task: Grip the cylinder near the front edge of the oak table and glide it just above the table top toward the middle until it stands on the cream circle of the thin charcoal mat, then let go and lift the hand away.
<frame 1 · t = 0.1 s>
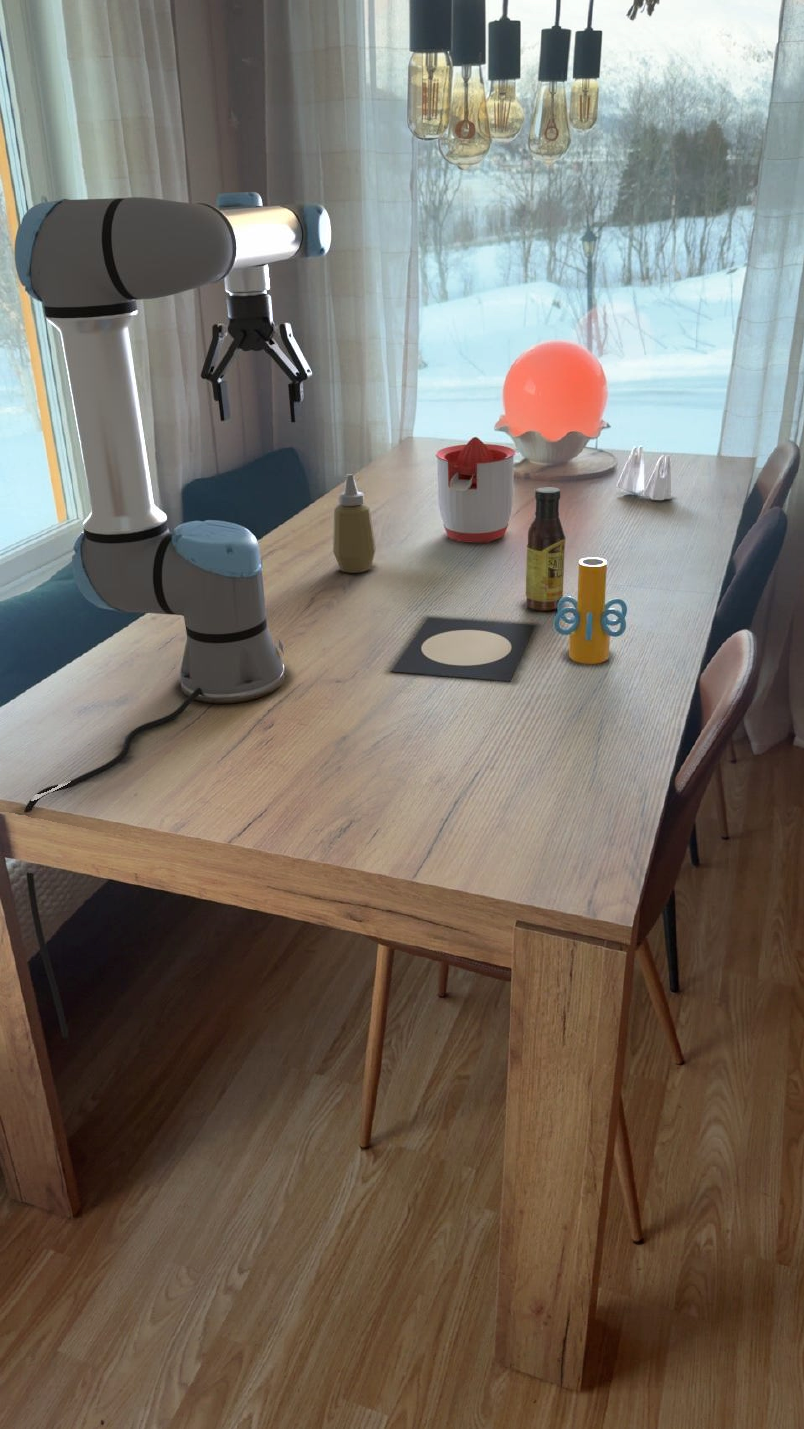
hand: (260, 420, 189), 28 cm above the table, tool pointing down, fingers open, 13 cm apart
sauce bottle: (544, 606, 179), on the table
citrus juicer: (474, 537, 215), on the table
cylinder: (589, 658, 159), on the table
mat: (466, 647, 164), on the table
shaker set: (643, 497, 237), on the table
squeeze bottle: (355, 569, 200), on the table
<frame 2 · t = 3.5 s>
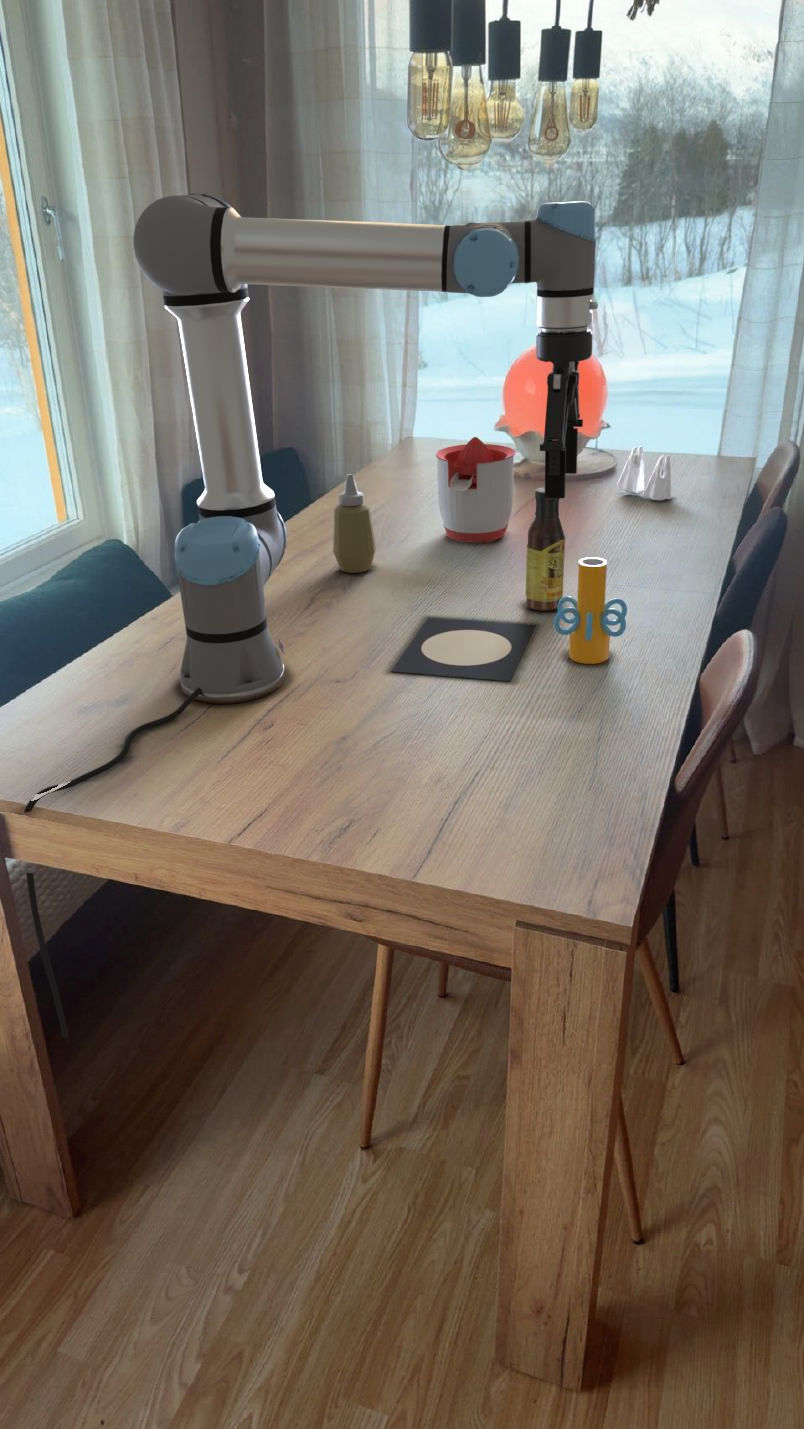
hand: (561, 485, 152), 25 cm above the table, tool pointing down, fingers open, 13 cm apart
nothing on the table moved.
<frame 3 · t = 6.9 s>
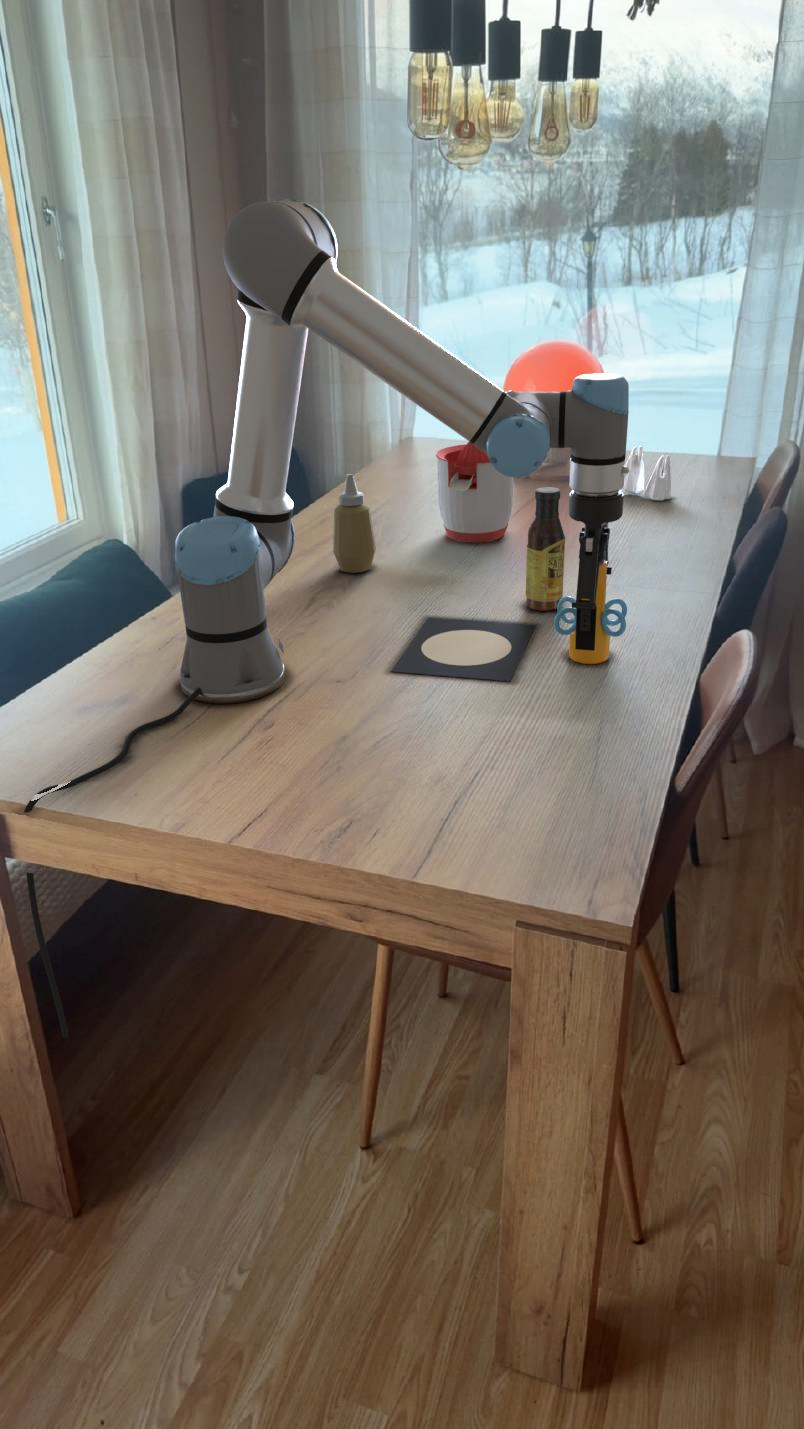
hand: (590, 632, 158), 4 cm above the table, tool pointing down, fingers closed on cylinder, 12 cm apart
cylinder: (589, 658, 159), on the table, touching gripper
everything else where it was.
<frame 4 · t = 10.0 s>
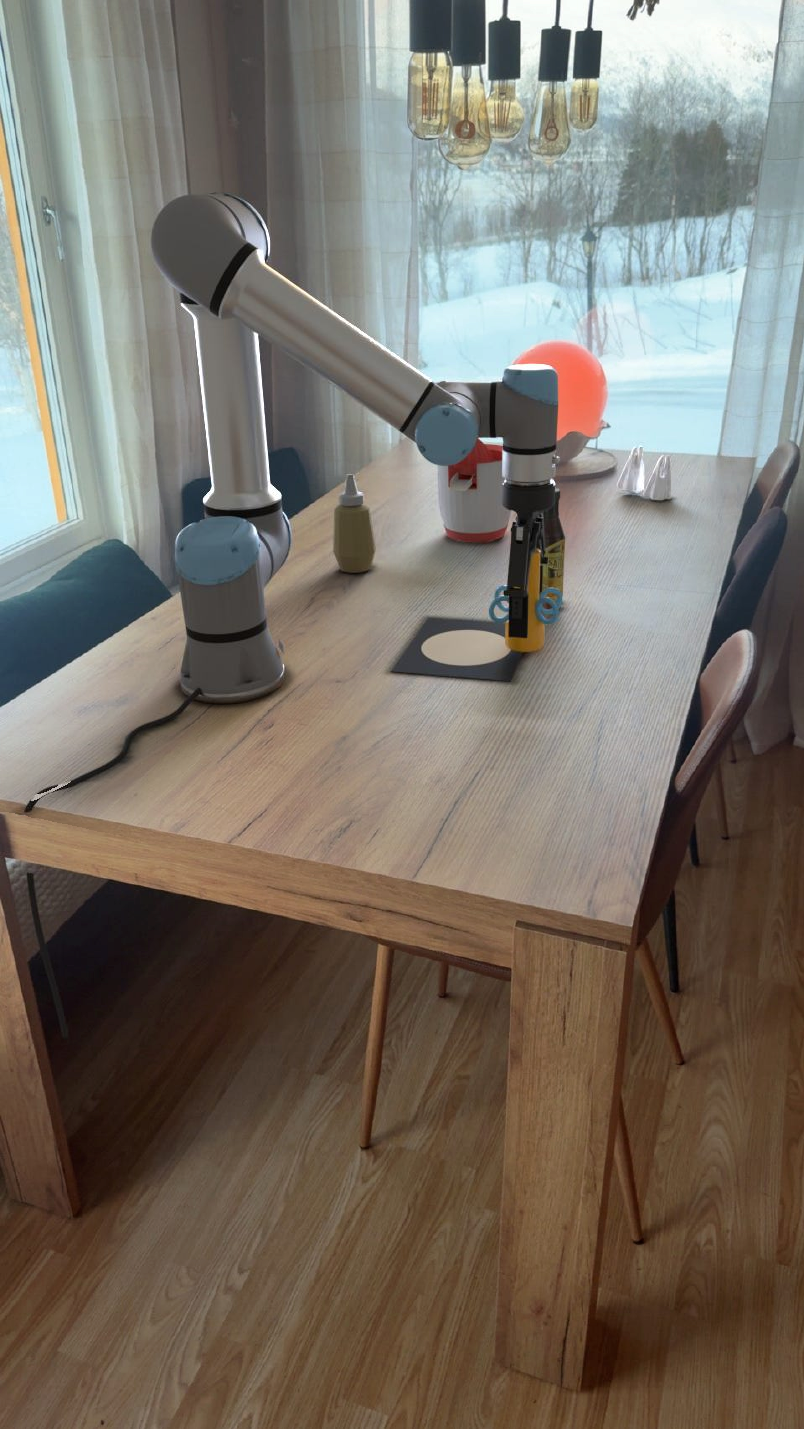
hand: (525, 620, 160), 5 cm above the table, tool pointing down, fingers closed on cylinder, 12 cm apart
cylinder: (524, 646, 161), point 1 cm above the table, touching gripper
everything else where it was.
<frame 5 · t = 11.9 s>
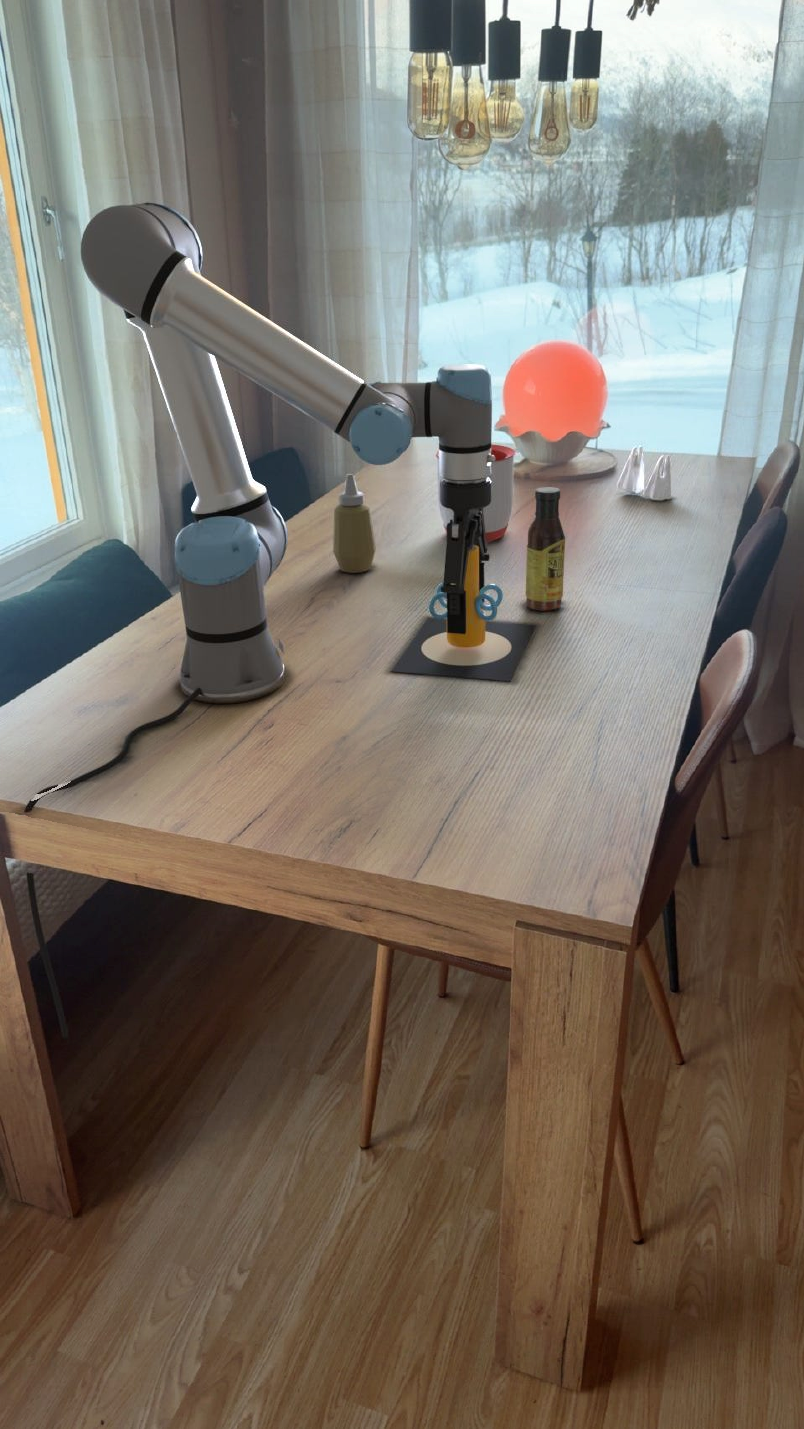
hand: (466, 617, 162), 5 cm above the table, tool pointing down, fingers closed on cylinder, 12 cm apart
cylinder: (466, 642, 164), point 1 cm above the table, touching gripper
everything else where it was.
when the fingers open (4 cm above the table, at t = 13.1 s): cylinder stays where it is, resting on mat.
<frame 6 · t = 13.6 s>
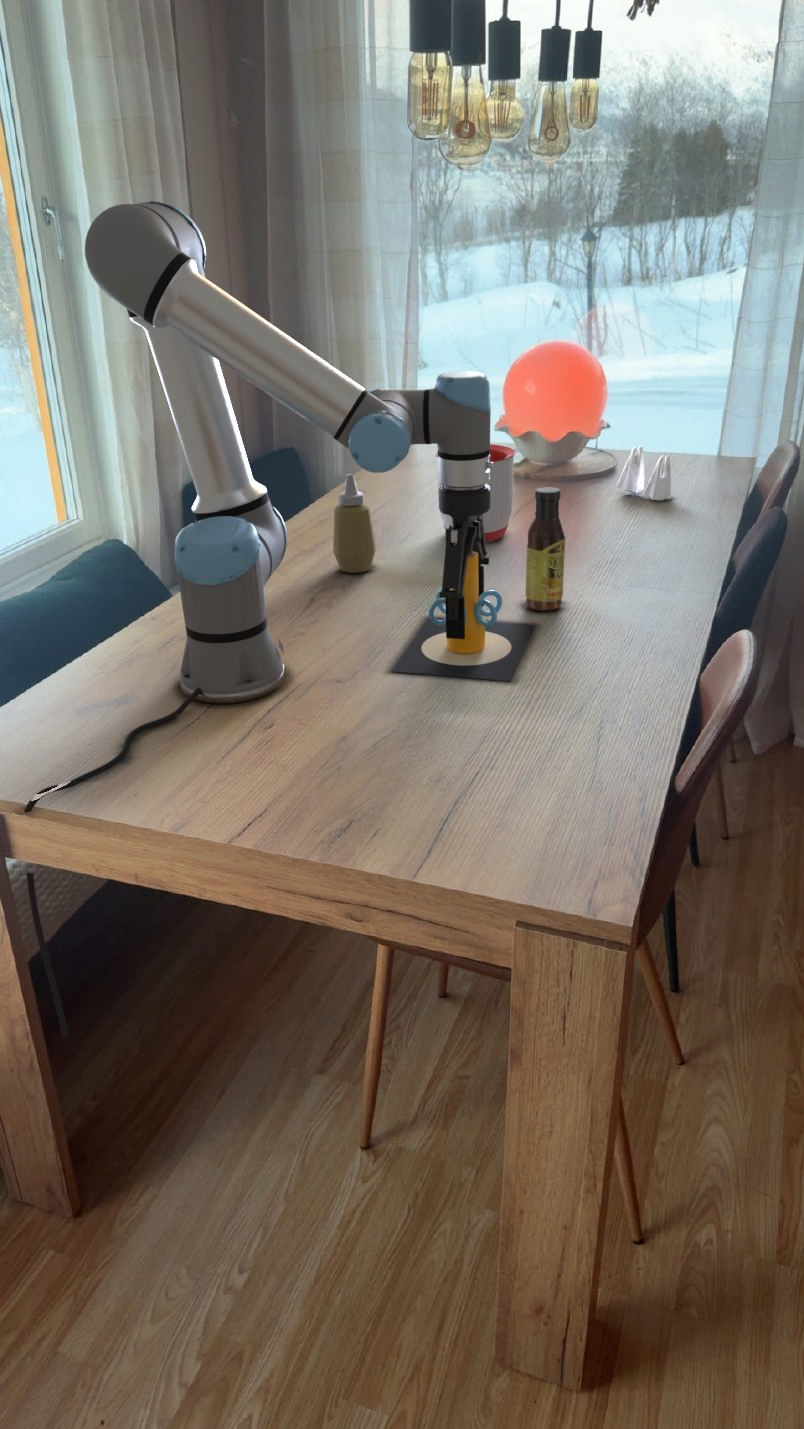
hand: (465, 621, 162), 4 cm above the table, tool pointing down, fingers open, 13 cm apart
cylinder: (466, 648, 164), resting on mat
everything else where it was.
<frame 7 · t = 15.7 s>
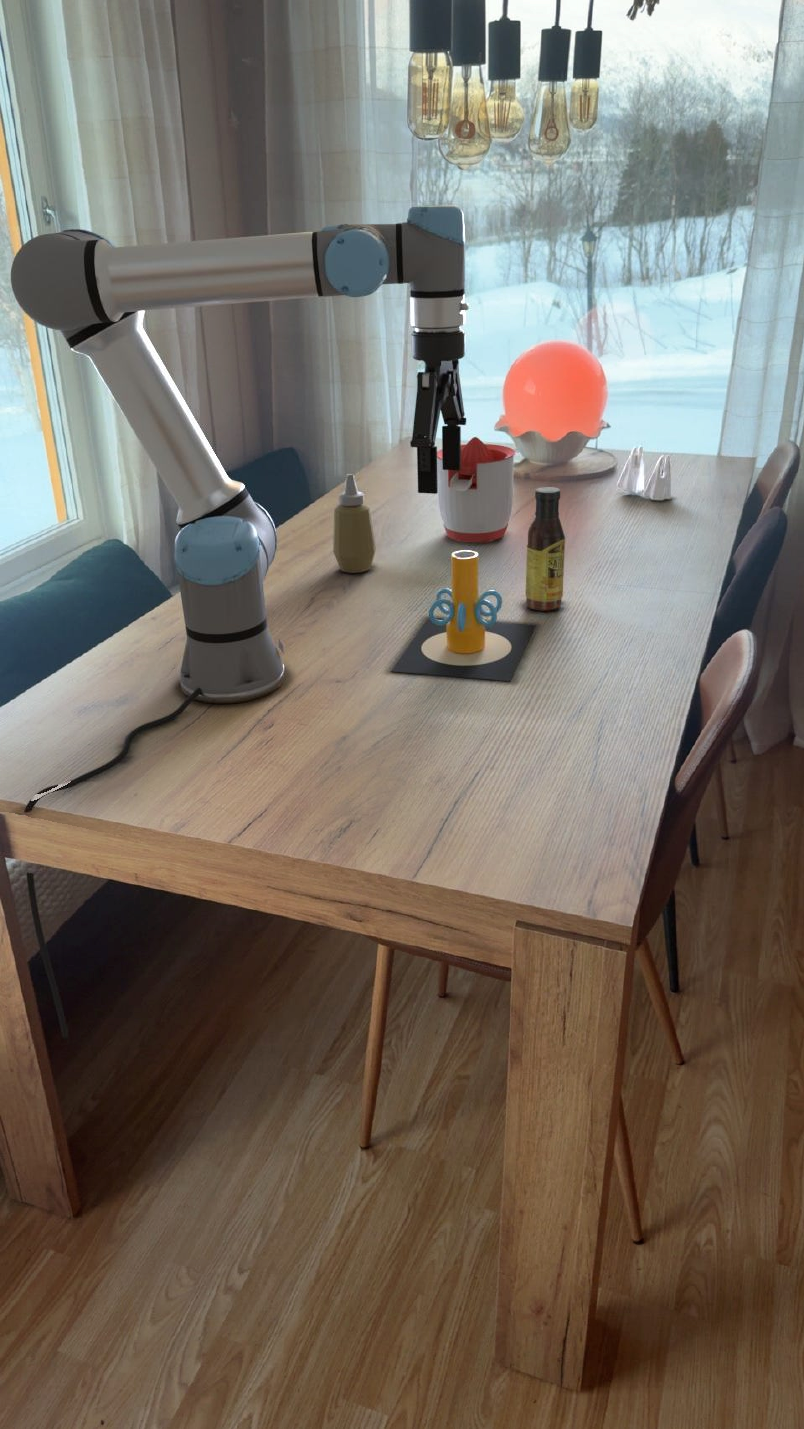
hand: (440, 481, 156), 26 cm above the table, tool pointing down, fingers open, 13 cm apart
nothing on the table moved.
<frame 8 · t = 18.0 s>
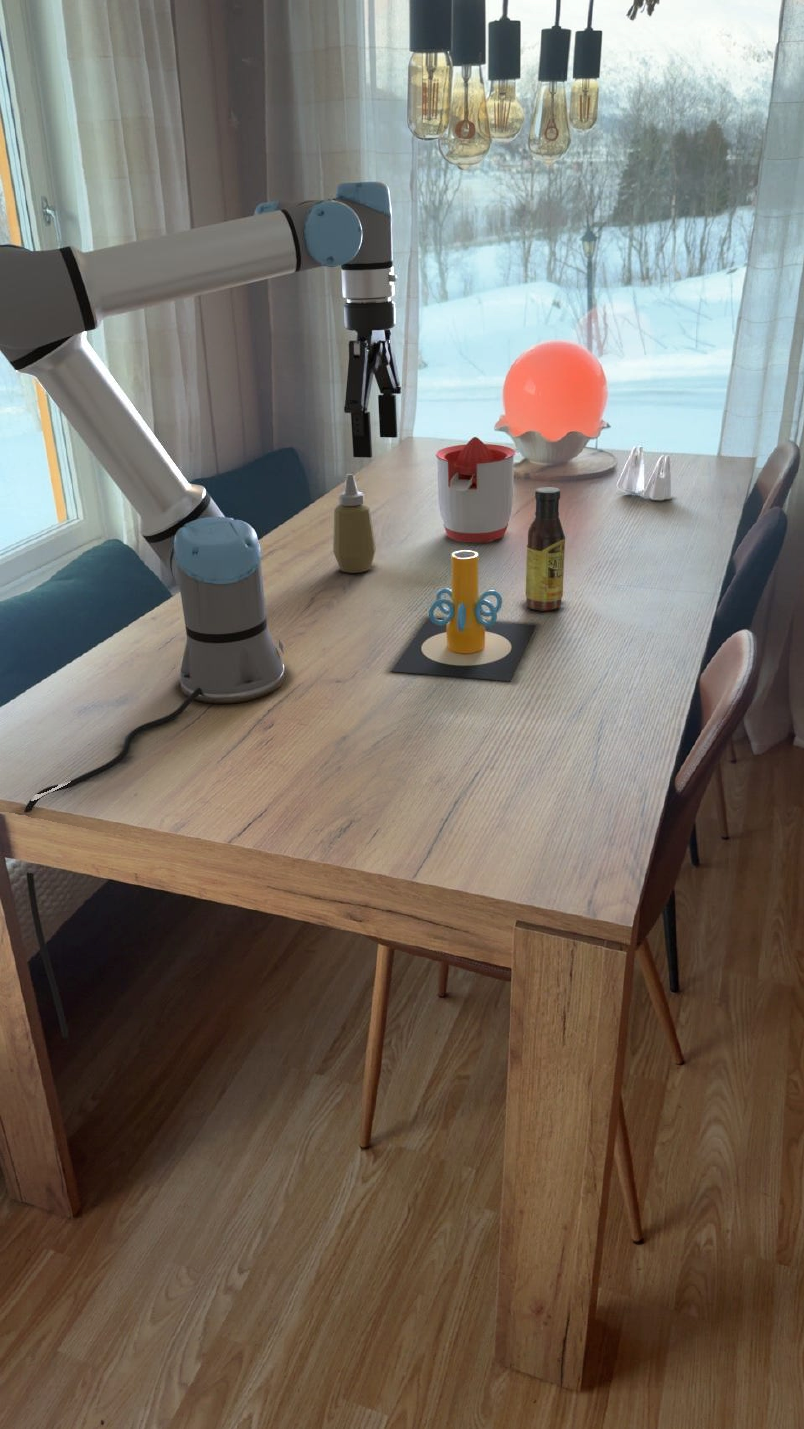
hand: (376, 446, 163), 29 cm above the table, tool pointing down, fingers open, 13 cm apart
nothing on the table moved.
at the end: cylinder 0.0 cm from the mat (horizontally); cylinder tilted 0°; the gripper is holding nothing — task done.
